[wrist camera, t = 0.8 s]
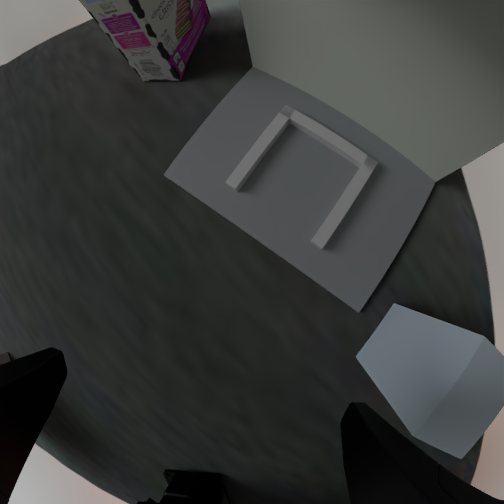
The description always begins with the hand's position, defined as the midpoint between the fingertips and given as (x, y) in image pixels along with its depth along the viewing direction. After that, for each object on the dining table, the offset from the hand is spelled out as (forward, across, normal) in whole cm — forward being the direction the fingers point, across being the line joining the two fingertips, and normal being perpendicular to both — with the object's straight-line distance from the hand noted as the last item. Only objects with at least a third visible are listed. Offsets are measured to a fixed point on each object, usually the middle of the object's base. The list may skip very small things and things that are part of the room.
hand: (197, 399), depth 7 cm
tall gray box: (+13, -15, +5) cm, 20 cm away
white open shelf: (+18, -5, -8) cm, 20 cm away
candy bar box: (+24, +10, -20) cm, 33 cm away
